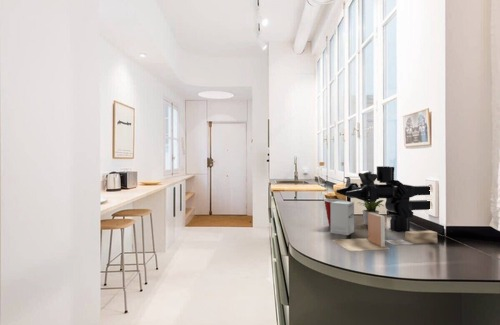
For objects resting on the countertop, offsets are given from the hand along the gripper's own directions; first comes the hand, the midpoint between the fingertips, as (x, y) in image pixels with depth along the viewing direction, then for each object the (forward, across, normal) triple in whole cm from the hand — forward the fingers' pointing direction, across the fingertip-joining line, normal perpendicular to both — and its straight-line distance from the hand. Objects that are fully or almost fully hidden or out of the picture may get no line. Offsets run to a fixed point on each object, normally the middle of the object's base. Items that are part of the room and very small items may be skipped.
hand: (341, 192), depth 122 cm
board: (+2, +18, +17) cm, 25 cm away
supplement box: (0, 0, +17) cm, 17 cm away
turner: (-17, +18, +17) cm, 30 cm away
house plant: (-19, -15, +17) cm, 30 cm away
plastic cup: (-3, -13, +17) cm, 22 cm away
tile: (-4, +18, +16) cm, 24 cm away
